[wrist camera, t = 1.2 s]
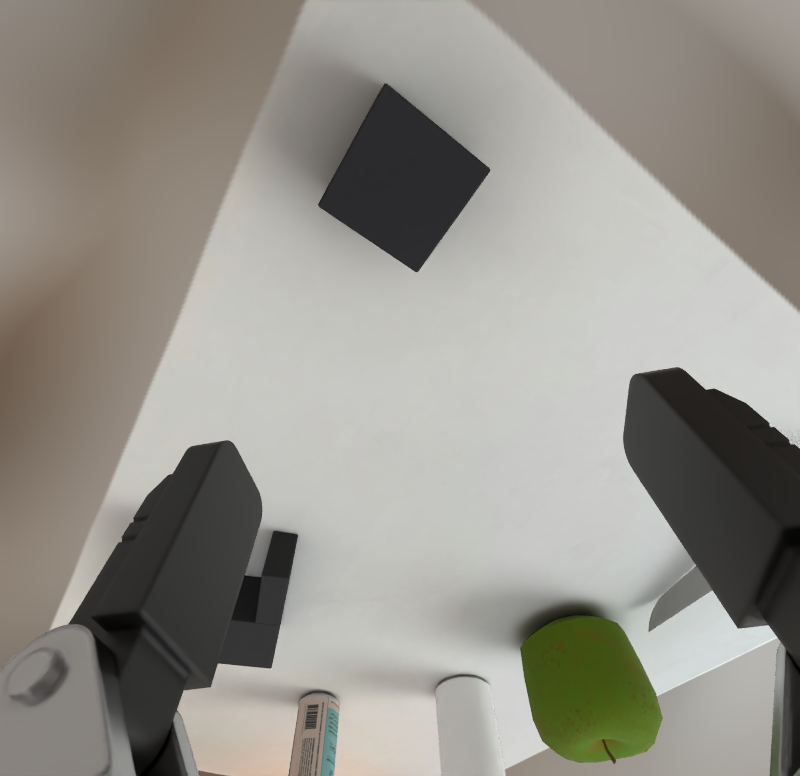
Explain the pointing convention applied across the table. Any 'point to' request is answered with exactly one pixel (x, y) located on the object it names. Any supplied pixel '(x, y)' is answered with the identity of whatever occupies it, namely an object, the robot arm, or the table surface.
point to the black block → (402, 180)
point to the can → (467, 728)
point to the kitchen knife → (679, 597)
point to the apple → (589, 690)
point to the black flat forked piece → (260, 608)
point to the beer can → (315, 736)
